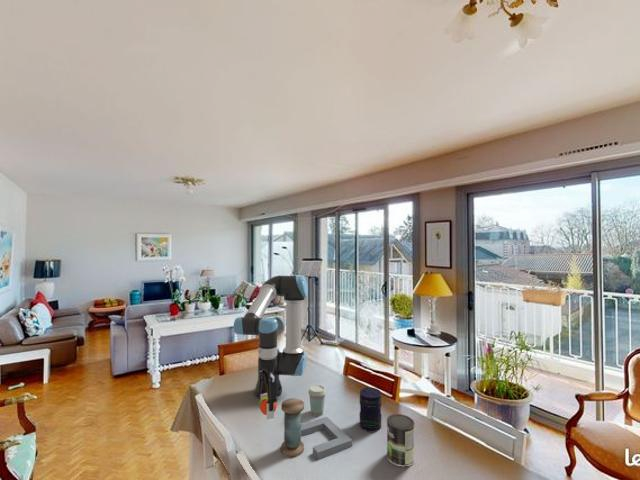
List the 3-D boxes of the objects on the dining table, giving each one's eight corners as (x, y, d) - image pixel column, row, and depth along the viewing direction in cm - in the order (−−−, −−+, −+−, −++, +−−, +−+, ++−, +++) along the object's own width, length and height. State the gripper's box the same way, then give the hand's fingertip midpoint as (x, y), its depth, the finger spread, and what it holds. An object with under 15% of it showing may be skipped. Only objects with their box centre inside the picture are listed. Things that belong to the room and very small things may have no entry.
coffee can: (391, 468, 114) (391, 429, 114) (383, 450, 124) (383, 414, 125) (418, 466, 115) (418, 428, 115) (408, 448, 125) (408, 413, 125)
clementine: (259, 421, 122) (260, 402, 122) (255, 412, 128) (255, 395, 129) (279, 416, 126) (279, 398, 126) (273, 408, 132) (273, 391, 132)
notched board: (295, 432, 136) (295, 426, 136) (326, 422, 144) (326, 416, 144) (317, 459, 119) (317, 452, 119) (352, 446, 127) (352, 439, 127)
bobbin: (277, 446, 126) (277, 401, 126) (297, 440, 130) (297, 396, 131) (286, 459, 118) (286, 411, 119) (307, 452, 123) (307, 406, 123)
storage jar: (383, 421, 144) (383, 389, 145) (379, 433, 135) (379, 398, 136) (361, 417, 148) (361, 386, 148) (357, 429, 138) (357, 395, 139)
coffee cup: (324, 418, 147) (324, 393, 147) (306, 416, 148) (306, 391, 149) (327, 409, 155) (327, 385, 155) (310, 407, 157) (310, 383, 157)
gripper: (251, 351, 135) (250, 405, 134) (267, 366, 117) (266, 428, 117) (268, 348, 138) (267, 401, 138) (285, 362, 121) (285, 423, 120)
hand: (266, 413), depth 127 cm, fingers closed on clementine, 7 cm apart
